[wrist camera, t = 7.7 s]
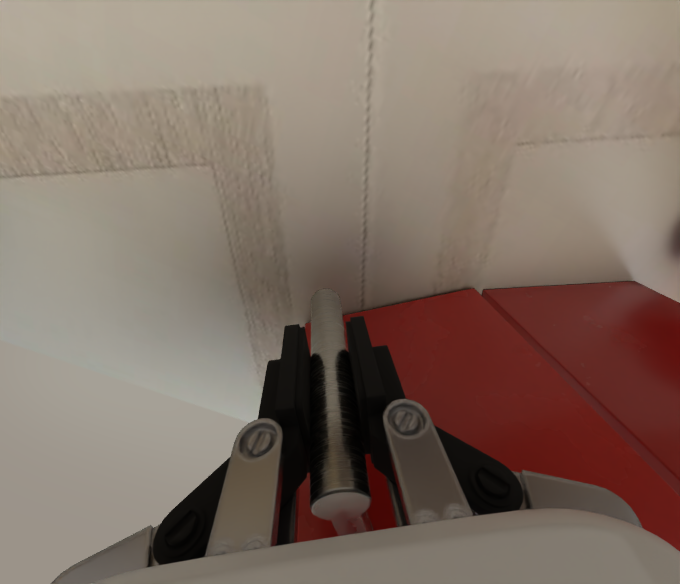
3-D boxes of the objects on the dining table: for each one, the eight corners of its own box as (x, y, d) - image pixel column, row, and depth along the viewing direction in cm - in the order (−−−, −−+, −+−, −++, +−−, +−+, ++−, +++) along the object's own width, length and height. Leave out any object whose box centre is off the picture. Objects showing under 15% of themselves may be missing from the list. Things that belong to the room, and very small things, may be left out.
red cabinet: (452, 405, 28) (590, 682, 14) (483, 289, 21) (797, 592, 7) (570, 395, 28) (812, 649, 15) (634, 280, 22) (1174, 541, 8)
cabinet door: (287, 267, 19) (224, 620, 5) (477, 226, 18) (910, 494, 5) (307, 331, 22) (299, 670, 8) (473, 297, 21) (748, 590, 8)
